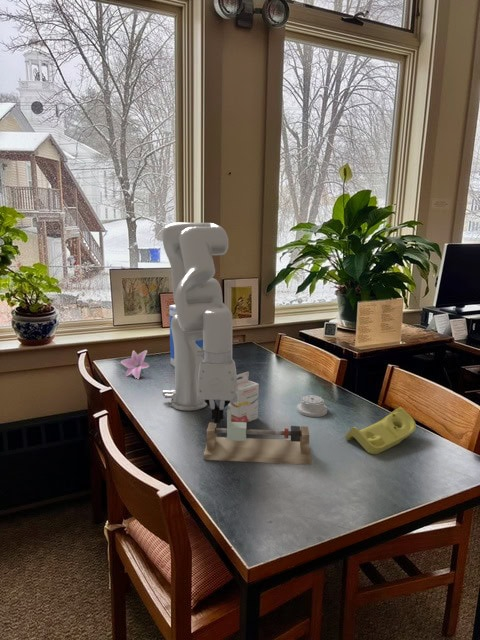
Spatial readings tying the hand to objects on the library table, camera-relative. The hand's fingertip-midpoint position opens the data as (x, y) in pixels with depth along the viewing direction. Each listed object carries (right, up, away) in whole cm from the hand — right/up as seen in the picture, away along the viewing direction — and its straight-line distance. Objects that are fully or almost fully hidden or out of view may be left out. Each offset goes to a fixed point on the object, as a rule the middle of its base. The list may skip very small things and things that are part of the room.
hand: (217, 421), depth 126 cm
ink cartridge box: (+7, -4, +21) cm, 23 cm away
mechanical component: (+30, -3, +29) cm, 41 cm away
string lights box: (-16, +8, +74) cm, 77 cm away
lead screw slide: (+11, -9, +1) cm, 14 cm away
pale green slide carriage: (+5, -4, +1) cm, 7 cm away
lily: (-35, +5, +60) cm, 70 cm away
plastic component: (+47, -8, +9) cm, 48 cm away
